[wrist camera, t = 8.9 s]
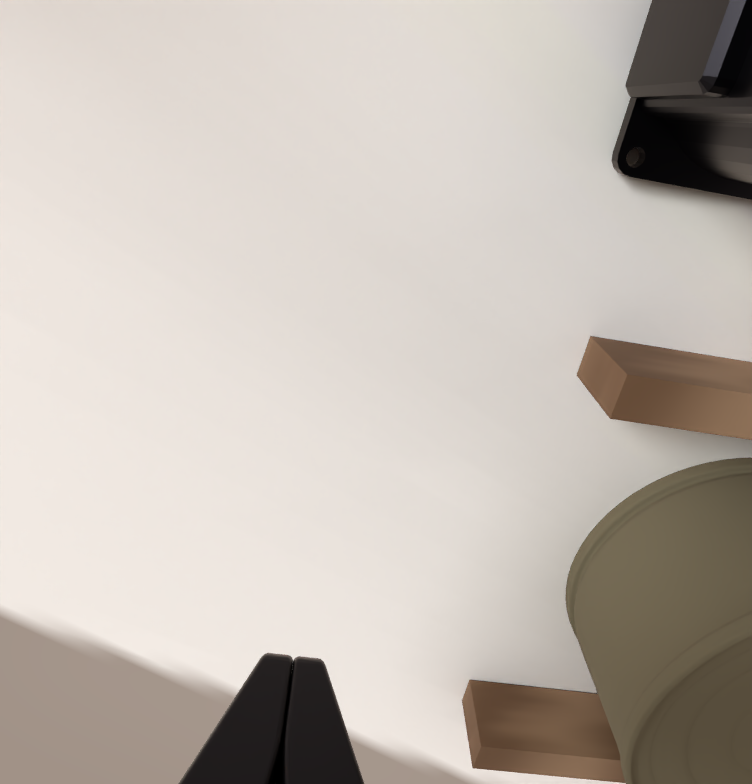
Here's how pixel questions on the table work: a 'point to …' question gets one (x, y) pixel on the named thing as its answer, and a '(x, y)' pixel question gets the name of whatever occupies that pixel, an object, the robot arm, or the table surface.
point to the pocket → (584, 710)
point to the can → (673, 625)
